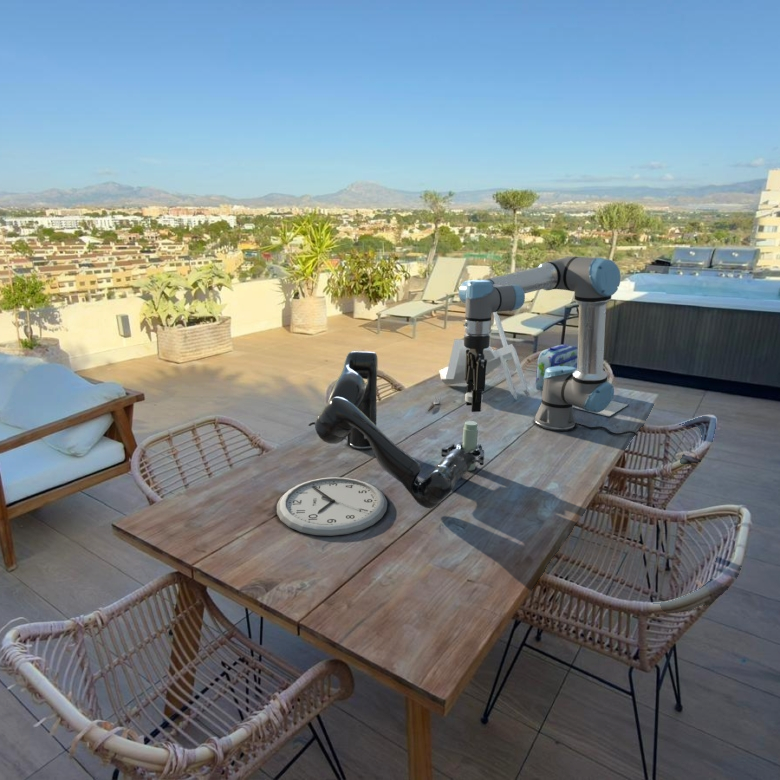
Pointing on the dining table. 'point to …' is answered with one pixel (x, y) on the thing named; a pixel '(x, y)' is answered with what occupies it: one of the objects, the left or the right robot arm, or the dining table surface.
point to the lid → (469, 397)
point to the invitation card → (609, 408)
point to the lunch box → (555, 360)
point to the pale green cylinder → (470, 438)
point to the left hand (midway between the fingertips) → (471, 445)
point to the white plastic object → (494, 360)
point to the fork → (434, 403)
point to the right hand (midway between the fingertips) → (473, 407)
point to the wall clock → (331, 506)
